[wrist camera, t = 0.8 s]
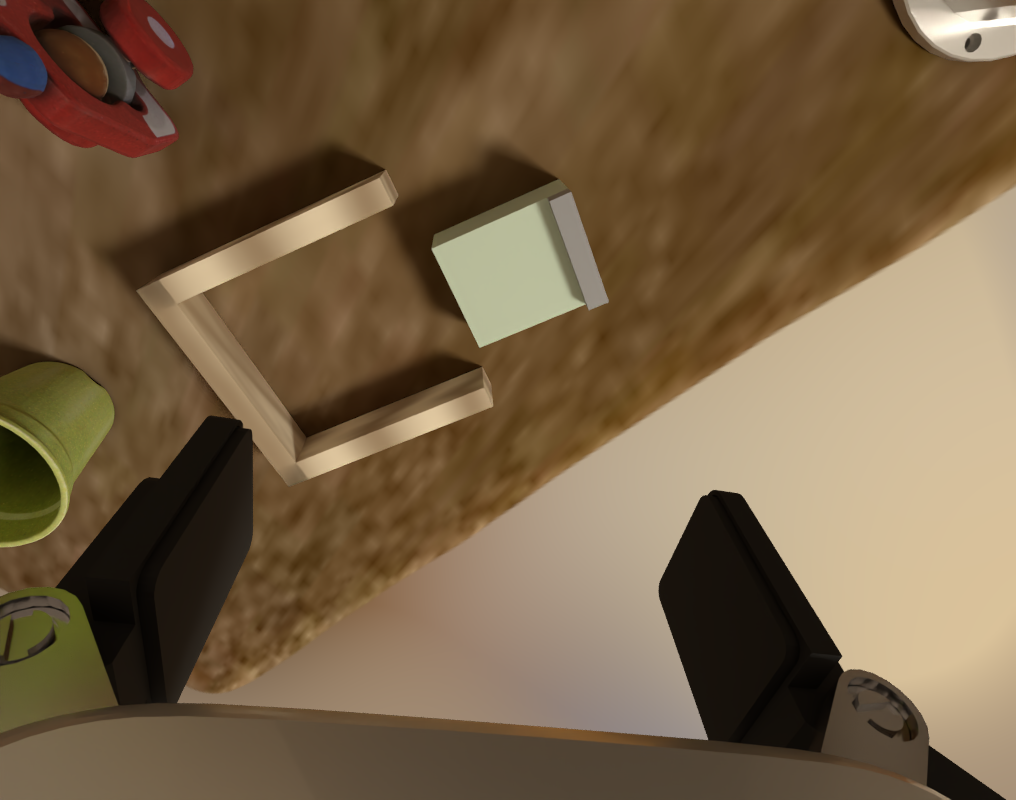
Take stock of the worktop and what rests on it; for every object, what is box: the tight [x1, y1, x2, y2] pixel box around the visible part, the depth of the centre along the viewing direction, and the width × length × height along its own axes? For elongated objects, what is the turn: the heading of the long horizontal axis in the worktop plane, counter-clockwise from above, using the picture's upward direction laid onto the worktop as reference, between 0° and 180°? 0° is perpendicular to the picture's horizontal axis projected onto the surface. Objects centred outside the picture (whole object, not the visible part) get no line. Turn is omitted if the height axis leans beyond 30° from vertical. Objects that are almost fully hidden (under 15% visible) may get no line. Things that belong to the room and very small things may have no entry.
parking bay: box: [136, 170, 493, 487], centre depth 36 cm, size 15×15×3 cm
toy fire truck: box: [0, 0, 193, 158], centre depth 24 cm, size 7×12×10 cm, turn 28°
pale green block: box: [432, 179, 609, 348], centre depth 34 cm, size 8×6×4 cm
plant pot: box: [0, 362, 114, 547], centre depth 34 cm, size 9×9×9 cm
